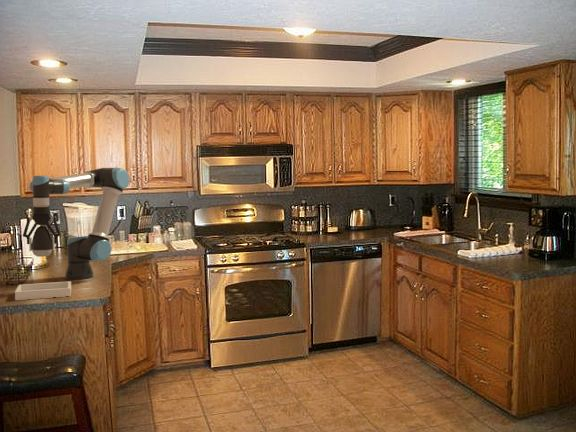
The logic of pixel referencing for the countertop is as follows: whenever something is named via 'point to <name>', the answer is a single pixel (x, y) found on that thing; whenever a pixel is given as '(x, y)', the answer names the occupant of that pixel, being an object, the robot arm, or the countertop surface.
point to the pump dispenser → (42, 242)
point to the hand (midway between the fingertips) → (42, 250)
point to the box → (43, 290)
